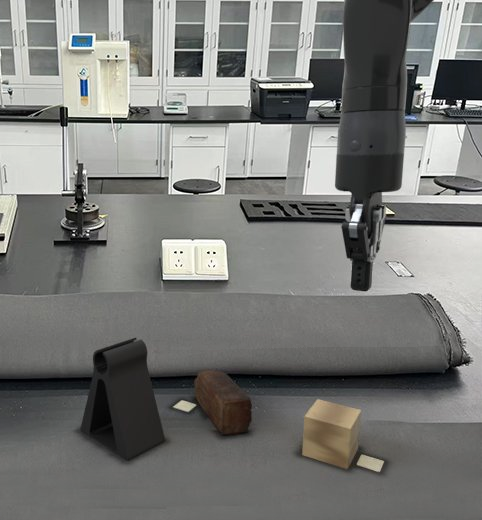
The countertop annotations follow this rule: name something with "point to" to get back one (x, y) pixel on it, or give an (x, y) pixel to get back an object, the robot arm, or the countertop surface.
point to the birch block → (331, 433)
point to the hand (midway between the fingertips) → (360, 289)
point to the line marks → (363, 462)
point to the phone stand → (122, 401)
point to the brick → (223, 402)
